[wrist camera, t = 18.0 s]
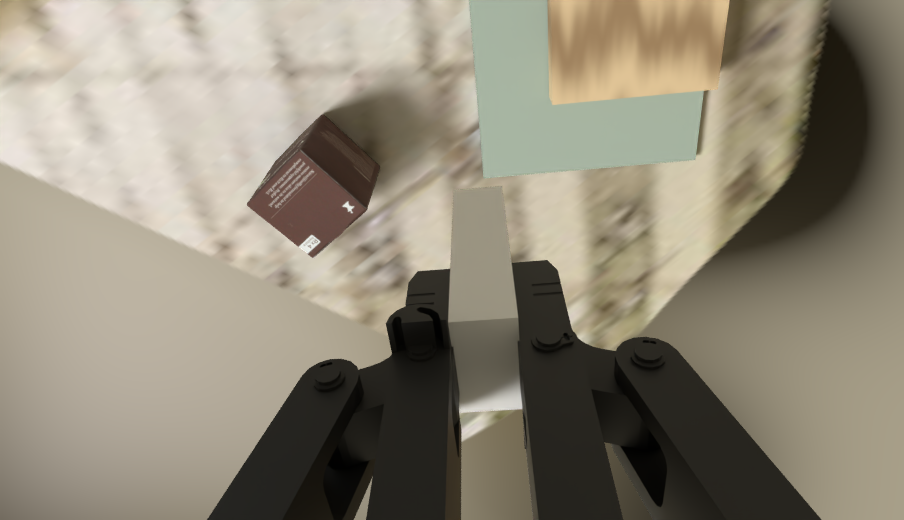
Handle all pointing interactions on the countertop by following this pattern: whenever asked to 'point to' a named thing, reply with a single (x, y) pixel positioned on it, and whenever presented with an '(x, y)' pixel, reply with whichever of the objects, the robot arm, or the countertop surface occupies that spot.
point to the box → (316, 187)
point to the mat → (562, 106)
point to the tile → (633, 48)
